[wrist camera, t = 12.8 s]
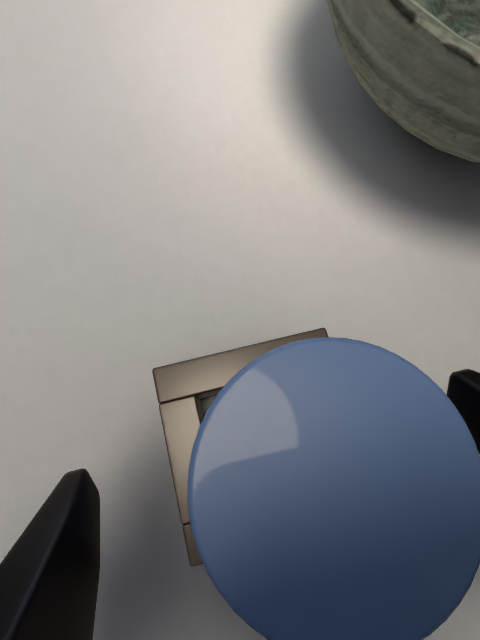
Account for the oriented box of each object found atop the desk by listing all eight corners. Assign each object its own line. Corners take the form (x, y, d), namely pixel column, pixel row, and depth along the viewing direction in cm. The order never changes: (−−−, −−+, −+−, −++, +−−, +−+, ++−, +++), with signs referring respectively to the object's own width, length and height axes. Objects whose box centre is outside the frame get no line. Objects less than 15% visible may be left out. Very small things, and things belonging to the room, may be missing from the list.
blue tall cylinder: (285, 484, 17) (476, 709, 4) (210, 464, 17) (145, 616, 4) (301, 406, 18) (502, 373, 5) (229, 388, 18) (230, 306, 5)
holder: (356, 496, 17) (383, 513, 14) (197, 541, 16) (190, 568, 13) (310, 341, 19) (325, 326, 16) (164, 376, 18) (151, 368, 15)
